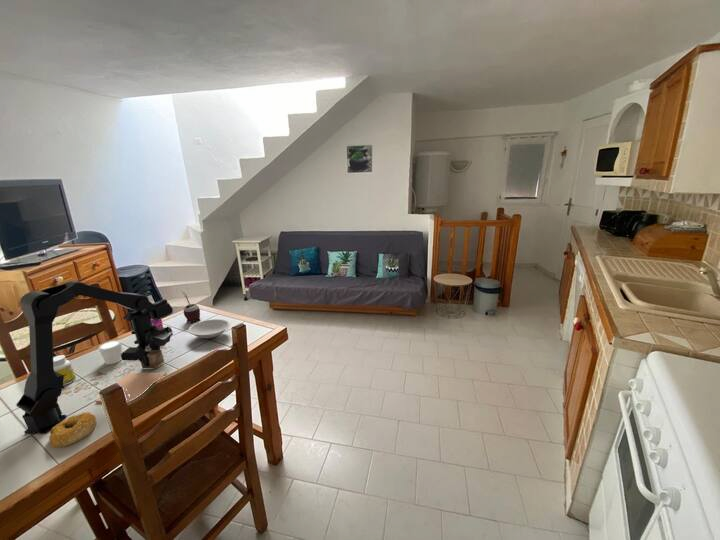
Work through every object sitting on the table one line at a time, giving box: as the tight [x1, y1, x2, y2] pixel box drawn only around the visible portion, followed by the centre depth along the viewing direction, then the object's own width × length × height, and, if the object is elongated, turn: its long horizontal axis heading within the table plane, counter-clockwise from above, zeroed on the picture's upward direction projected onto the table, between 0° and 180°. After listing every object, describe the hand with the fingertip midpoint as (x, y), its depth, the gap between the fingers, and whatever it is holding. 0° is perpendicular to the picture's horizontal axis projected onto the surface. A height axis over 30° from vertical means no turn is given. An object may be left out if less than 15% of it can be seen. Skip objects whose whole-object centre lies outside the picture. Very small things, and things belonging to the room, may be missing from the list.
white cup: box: [98, 339, 124, 365], centre depth 118 cm, size 7×7×7 cm
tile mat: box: [95, 372, 167, 404], centre depth 103 cm, size 14×14×1 cm
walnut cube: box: [140, 349, 165, 369], centre depth 114 cm, size 5×5×5 cm
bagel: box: [48, 412, 97, 448], centre depth 85 cm, size 10×11×5 cm
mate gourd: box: [181, 290, 201, 325], centre depth 147 cm, size 8×8×15 cm
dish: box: [187, 318, 231, 339], centre depth 134 cm, size 18×14×5 cm
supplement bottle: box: [53, 354, 76, 386], centre depth 105 cm, size 5×5×10 cm
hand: (152, 362), depth 115 cm, fingers closed on walnut cube, 5 cm apart
